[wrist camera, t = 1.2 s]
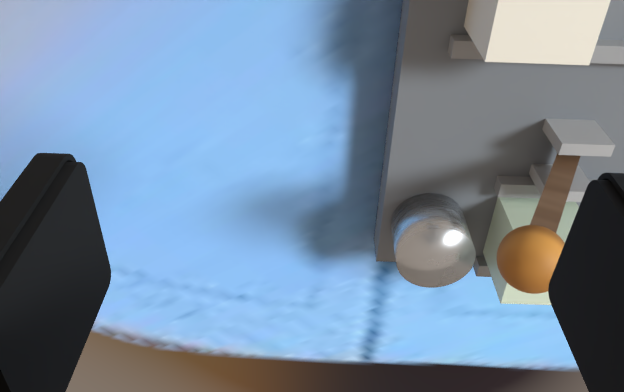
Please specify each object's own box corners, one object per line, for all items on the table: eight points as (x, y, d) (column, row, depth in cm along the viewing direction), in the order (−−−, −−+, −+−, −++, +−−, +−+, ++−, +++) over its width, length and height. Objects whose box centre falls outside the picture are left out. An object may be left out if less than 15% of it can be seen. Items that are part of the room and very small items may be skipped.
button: (394, 191, 30) (401, 227, 28) (470, 194, 30) (482, 229, 28) (386, 248, 33) (392, 286, 30) (456, 251, 33) (467, 288, 30)
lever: (549, 124, 28) (497, 240, 20) (606, 138, 27) (573, 265, 20) (535, 168, 29) (482, 292, 22) (588, 183, 28) (552, 318, 21)
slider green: (498, 195, 30) (519, 244, 27) (573, 197, 30) (603, 246, 27) (482, 252, 33) (500, 303, 29) (552, 254, 33) (577, 305, 29)
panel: (419, -139, 23) (437, -125, 20) (834, -124, 23) (927, -108, 20) (373, 241, 35) (379, 293, 31) (649, 250, 35) (686, 302, 32)
